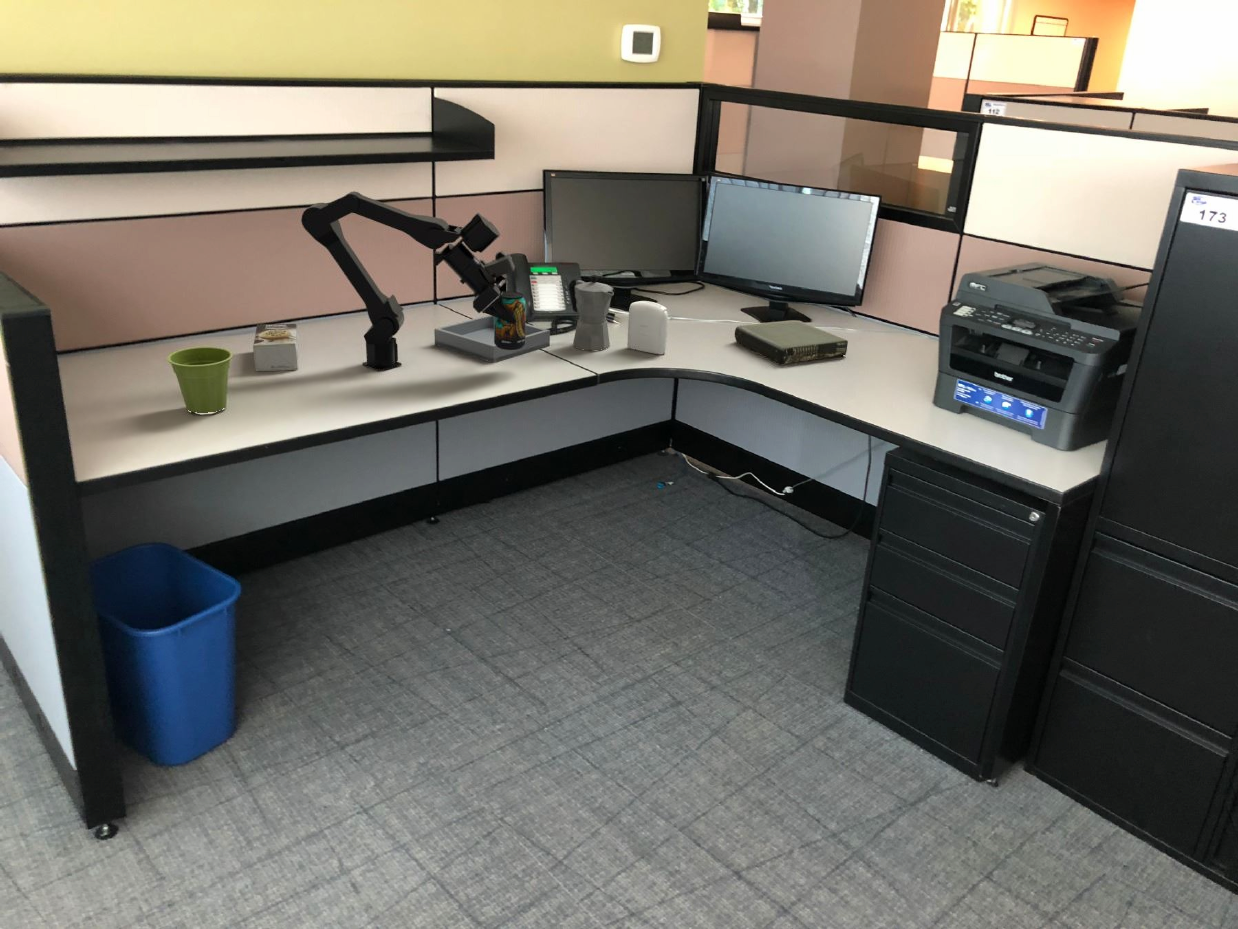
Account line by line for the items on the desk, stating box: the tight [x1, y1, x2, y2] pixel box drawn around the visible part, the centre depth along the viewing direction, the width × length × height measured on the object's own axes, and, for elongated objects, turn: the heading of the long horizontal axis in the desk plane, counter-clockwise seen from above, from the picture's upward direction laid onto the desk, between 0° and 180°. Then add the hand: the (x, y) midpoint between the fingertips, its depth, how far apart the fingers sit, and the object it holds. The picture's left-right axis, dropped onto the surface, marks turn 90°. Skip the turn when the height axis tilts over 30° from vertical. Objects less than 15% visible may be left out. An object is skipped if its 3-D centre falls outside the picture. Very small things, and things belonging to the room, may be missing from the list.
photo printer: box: [626, 300, 669, 355], centre depth 251 cm, size 10×4×12 cm, turn 60°
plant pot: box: [166, 346, 234, 413], centre depth 199 cm, size 12×12×11 cm
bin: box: [434, 314, 551, 364], centre depth 250 cm, size 20×20×4 cm
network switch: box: [734, 319, 849, 366], centre depth 260 cm, size 23×24×5 cm
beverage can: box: [494, 290, 527, 350], centre depth 228 cm, size 7×7×12 cm
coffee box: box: [252, 323, 300, 372], centre depth 230 cm, size 9×6×16 cm
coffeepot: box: [568, 274, 615, 352], centre depth 252 cm, size 15×9×18 cm, turn 45°
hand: (516, 318), depth 228 cm, fingers closed on beverage can, 7 cm apart
